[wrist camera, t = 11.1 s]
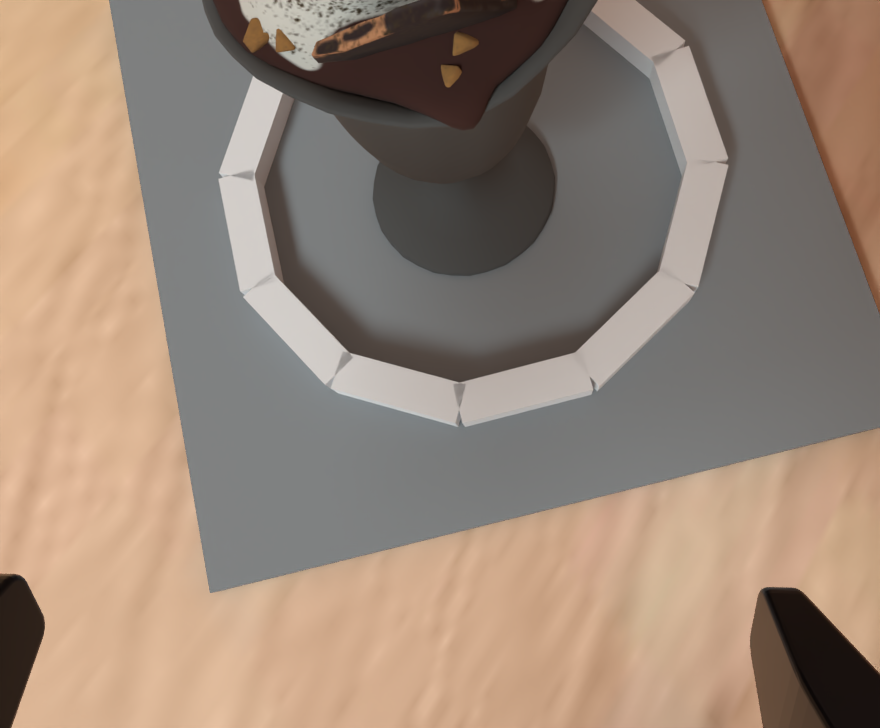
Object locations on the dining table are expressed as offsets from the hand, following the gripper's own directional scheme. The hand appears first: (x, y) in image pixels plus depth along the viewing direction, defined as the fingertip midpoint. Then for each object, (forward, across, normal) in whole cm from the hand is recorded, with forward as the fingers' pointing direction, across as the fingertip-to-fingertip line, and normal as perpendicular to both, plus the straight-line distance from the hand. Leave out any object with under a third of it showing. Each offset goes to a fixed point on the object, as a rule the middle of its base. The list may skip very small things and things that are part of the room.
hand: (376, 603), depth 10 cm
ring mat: (+15, 0, 0) cm, 15 cm away
